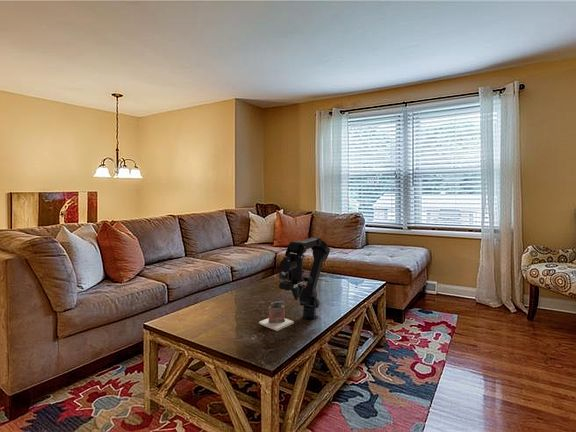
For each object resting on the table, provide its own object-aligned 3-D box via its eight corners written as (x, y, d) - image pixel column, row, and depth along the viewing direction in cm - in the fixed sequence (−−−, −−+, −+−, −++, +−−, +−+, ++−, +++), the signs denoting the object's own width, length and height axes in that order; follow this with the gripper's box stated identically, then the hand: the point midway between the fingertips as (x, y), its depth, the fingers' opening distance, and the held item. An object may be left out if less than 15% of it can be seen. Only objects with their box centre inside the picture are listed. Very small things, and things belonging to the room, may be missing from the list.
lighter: (269, 323, 166) (269, 303, 165) (268, 320, 169) (268, 301, 168) (285, 322, 168) (285, 302, 167) (284, 319, 171) (284, 299, 170)
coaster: (276, 316, 177) (276, 315, 177) (293, 323, 169) (293, 321, 169) (259, 323, 168) (259, 321, 168) (276, 331, 160) (276, 328, 160)
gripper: (296, 261, 175) (296, 291, 177) (270, 268, 161) (270, 300, 163) (313, 265, 168) (313, 296, 169) (288, 272, 154) (287, 306, 155)
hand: (296, 300), depth 164 cm, fingers closed
